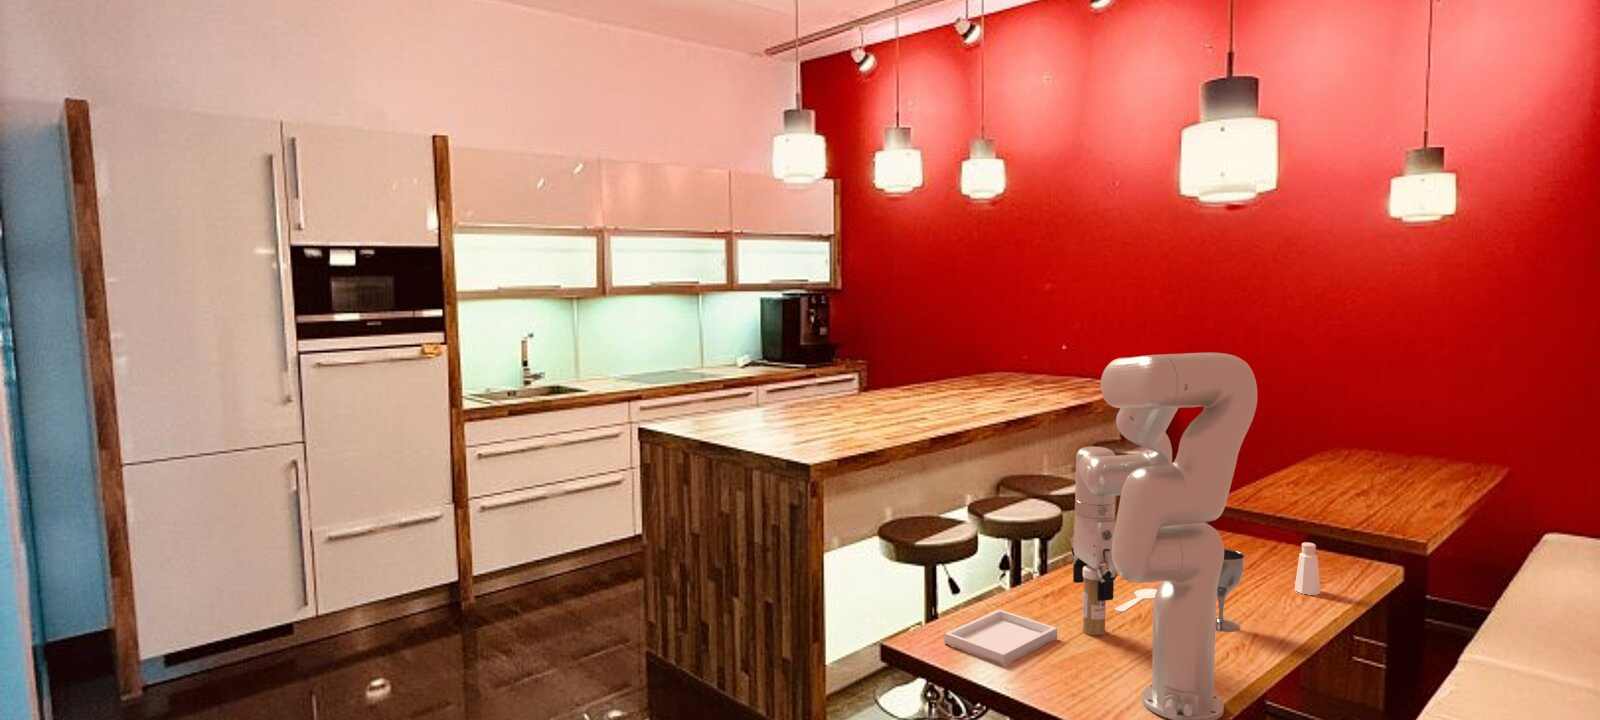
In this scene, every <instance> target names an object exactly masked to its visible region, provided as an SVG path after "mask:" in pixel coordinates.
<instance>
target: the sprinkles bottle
mask: <svg viewBox="0 0 1600 720" xmlns="http://www.w3.org/2000/svg"><path fill="white" fill-rule="evenodd" d="M1102 571H1103V574H1105V573H1106V572H1107V570H1102ZM1083 579H1084V582H1083V587H1082V619H1083V620H1082V621H1083V623H1082V631H1083V632H1084V634H1087V635H1090V636H1093V637H1094V636H1103V635H1104V634H1106V632H1107V631H1106V615H1107V614H1106V610H1107V609H1106V607H1107V606H1106V601H1107V600H1106V601H1099V600H1097V582H1098V581H1100V579H1099V576H1098V573H1097V570H1096V569H1094V568H1092V567H1091V566H1089V565H1086V566H1084V567H1083Z"/></svg>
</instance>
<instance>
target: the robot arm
mask: <svg viewBox="0 0 1600 720" xmlns="http://www.w3.org/2000/svg"><path fill="white" fill-rule="evenodd" d="M1100 378H1101V379H1100V380H1101V381H1100V391H1101V395H1102V398H1103V399H1104V401H1105V402H1106V403H1107V405H1109V406H1111V407H1112V408H1116V409H1119V411H1118V412H1117V414H1116V418H1115V424H1116V428H1117V429H1118V431H1119V432H1120V434H1121V435H1122V437H1124V438H1125V439H1127V440H1128V441H1129V442H1131V443H1132V444H1135V445H1137V446H1139V447H1143V448H1145V450H1144V451H1143V452H1142V453H1141V454H1139V453H1138V454H1137V453H1136V454H1122V455H1121V454H1119V455H1118V454H1117V455H1116V453H1115V452H1114V451H1113V450H1112V449H1109V448H1107V447H1103V446H1085V447H1082V448H1080V449H1079V450H1078V451H1077V452H1076V456H1075V457H1076V458H1075V487H1074V488H1075V490H1074V492H1075V493H1074V495H1075V499H1074V516H1075V517H1074V524H1073V536H1072V537H1070V539H1069V541H1070V546H1071V550H1070V552H1071V553H1072V556H1073V557H1072V560H1071V561H1072V563H1073V567H1072V569H1073V570H1072V572H1073V573H1072V574H1073V575H1072V577H1073V578H1072V581H1073V582H1074V584H1079V583H1084V579H1083V567H1084V566H1086V565H1089V566H1091V567H1092V568H1094V569H1096V570H1097V573H1098V576H1099V579H1100V581H1098V582H1097V600H1099V601H1113V600H1114V587H1115V585H1114V584H1115V583H1114V582H1115V581H1116V578H1117V577H1118V575H1119V577H1120V578H1122V579H1123V580H1125V581H1128V582H1131V583H1136V584H1137V583H1138V584H1144V583H1145V584H1146V583H1149V584H1150V583H1158V582H1159V583H1160V584H1159V586H1158V588H1157V592H1156V595H1155V598H1154V599H1153V607H1152V610H1153V614H1152V615H1153V616H1152V666H1151V667H1152V672H1151V673H1152V675H1151V678H1152V679H1151V684H1149V685H1148V686H1146V687H1145V688H1144V689H1143V690H1142V693H1141V696H1142V697H1141V698H1142V699H1141V700H1142V703H1143V704H1144V705H1145V706H1146V708H1147V709H1148V710H1150V711H1151V712H1152V713H1154V714H1156V715H1158V716H1160V717H1162V718H1165V719H1168V720H1218V719H1220V718H1221V717H1222V716H1223V715H1224V710H1225V705H1224V702H1223V701H1222V699H1221V698H1220V697H1219V696H1217V694H1215V693H1214V692H1215V659H1216V658H1215V653H1216V650H1215V649H1216V630H1215V620H1216V618H1217V616H1216V615H1217V614H1216V612H1217V598H1218V597H1217V588H1218V582H1219V577H1220V573H1221V569H1222V565H1223V560H1224V548H1225V547H1224V543H1223V542H1224V541H1223V539H1222V537H1221V535H1220V533H1219V531H1217V529H1216V528H1215V527H1213V526H1212V525H1210V524H1209V522H1212V521H1216V520H1217V519H1219V518H1220V517H1221V516H1222V514H1223V512H1224V510H1225V508H1226V504H1227V502H1228V498H1229V493H1230V489H1231V486H1232V482H1233V478H1234V474H1235V469H1236V466H1237V460H1238V455H1239V452H1240V450H1241V446H1242V445H1243V442H1244V439H1245V437H1246V435H1247V433H1248V431H1249V429H1250V426H1251V425H1252V422H1253V420H1254V417H1255V413H1256V410H1257V405H1258V386H1257V381H1256V377H1255V374H1254V371H1253V370H1252V368H1251V367H1250V365H1249V363H1247V362H1246V361H1245V360H1243V359H1242V358H1240V357H1238V356H1236V355H1233V354H1229V353H1222V352H1193V353H1192V352H1191V353H1190V352H1188V353H1167V354H1150V355H1147V354H1146V355H1140V356H1132V357H1130V356H1129V357H1118V358H1116V359H1114V360H1112V361H1111V362H1109V363H1108V365H1107V366H1106V367H1105V368H1104V370H1103V372H1102V375H1101V377H1100ZM1197 407H1203V409H1202V411H1201V412H1200V414H1198V416H1196V417H1195V418H1193V420H1192V421H1191V422H1190V423H1189V425H1188V426H1187V427H1186V429H1185V430H1184V432H1183V433H1182V435H1181V437H1180V441H1179V445H1178V448H1177V454H1176V457H1175V459H1174V461H1173V448H1172V444H1171V440H1170V438H1169V435H1168V434H1167V433H1166V432H1167V429H1168V427H1169V426H1170V424H1171V422H1172V420H1174V419H1173V418H1174V417H1175V415H1176V413H1177V412H1178V409H1179V408H1197ZM1116 496H1120V498H1119V503H1118V509H1117V514H1116V519H1115V503H1116V502H1115V501H1116V500H1115V499H1116V498H1115V497H1116ZM1102 570H1106V573H1105V574H1103V571H1102Z"/></svg>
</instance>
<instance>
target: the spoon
mask: <svg viewBox="0 0 1600 720" xmlns="http://www.w3.org/2000/svg"><path fill="white" fill-rule="evenodd" d="M1157 590H1158V588H1157V589H1156V588H1151V587H1148V588H1147V587H1145V588H1141V589H1137V590H1136V591H1134V593H1133V594H1134V596H1135V595H1136V596H1135V598H1132V599H1130V600H1128V601H1126V602H1124V603H1122V604H1119V605H1117V606H1116V607H1114V611H1116V612H1126V611H1127V610H1129V609H1130V608H1132V607H1133V606H1134V605H1136V604H1137V603H1139V602H1141V601H1142V600H1145V599H1146V600H1151V599H1152V600H1154V598H1155V595H1156V592H1157Z"/></svg>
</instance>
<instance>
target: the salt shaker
mask: <svg viewBox="0 0 1600 720" xmlns="http://www.w3.org/2000/svg"><path fill="white" fill-rule="evenodd" d="M1316 547H1317V545H1316V544H1315V543H1313V542H1308V541H1307V542H1302V543H1301V552H1300V553H1299V556H1298V562H1297V570H1296V577H1295V583H1294V590H1295V591H1294V592H1296V591H1297V592H1296V593H1298V592H1299V593H1298V594H1300V593H1302V594H1301V595H1304V594H1307V595H1306V596H1311V595H1314V596H1319V595H1318V594H1320V595H1321V584H1320V574H1319V573H1320V571H1319V559H1318V555H1317V554H1316Z"/></svg>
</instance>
